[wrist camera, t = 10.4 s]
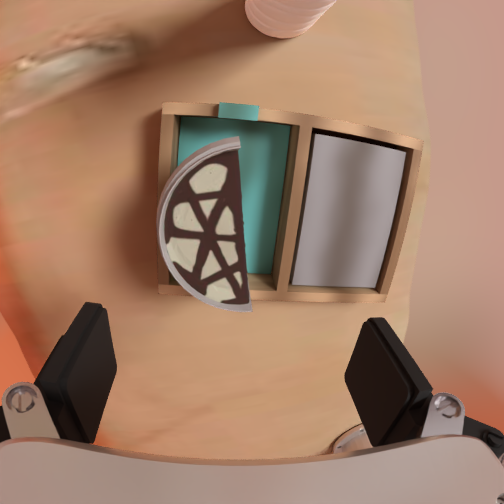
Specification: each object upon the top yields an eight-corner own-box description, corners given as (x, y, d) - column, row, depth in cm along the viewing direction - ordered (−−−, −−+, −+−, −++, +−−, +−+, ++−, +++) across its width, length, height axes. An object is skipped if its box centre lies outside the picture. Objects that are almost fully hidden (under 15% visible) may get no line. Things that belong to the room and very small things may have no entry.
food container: (166, 140, 26) (137, 149, 17) (235, 132, 27) (240, 137, 17) (183, 265, 31) (168, 324, 22) (244, 259, 31) (253, 317, 22)
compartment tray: (405, 136, 28) (428, 140, 24) (372, 286, 34) (388, 306, 30) (170, 103, 25) (161, 100, 21) (164, 276, 32) (156, 298, 28)
